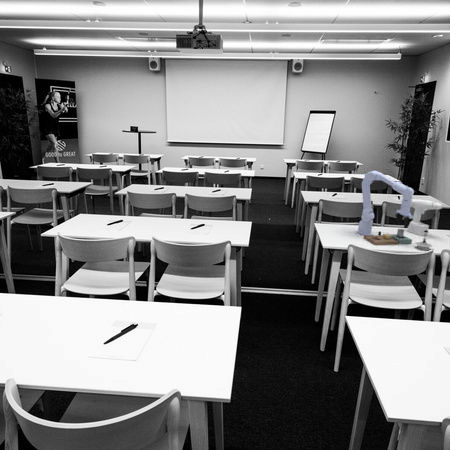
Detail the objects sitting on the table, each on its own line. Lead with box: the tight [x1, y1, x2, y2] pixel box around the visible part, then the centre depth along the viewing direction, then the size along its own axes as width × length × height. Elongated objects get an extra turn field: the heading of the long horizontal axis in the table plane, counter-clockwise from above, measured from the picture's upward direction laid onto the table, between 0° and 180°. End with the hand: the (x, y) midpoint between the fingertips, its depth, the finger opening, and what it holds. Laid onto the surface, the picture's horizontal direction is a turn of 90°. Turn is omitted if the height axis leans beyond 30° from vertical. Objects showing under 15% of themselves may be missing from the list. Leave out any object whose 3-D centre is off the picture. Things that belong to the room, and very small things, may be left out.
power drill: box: [407, 198, 444, 237], centre depth 284 cm, size 8×24×25 cm, turn 27°
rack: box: [389, 233, 413, 245], centre depth 268 cm, size 12×9×3 cm
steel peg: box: [396, 228, 405, 238], centre depth 267 cm, size 4×4×8 cm
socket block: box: [363, 234, 398, 246], centre depth 265 cm, size 14×16×2 cm
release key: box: [382, 233, 392, 239], centre depth 266 cm, size 4×4×4 cm
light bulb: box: [414, 230, 433, 251], centre depth 254 cm, size 12×10×10 cm
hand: (402, 226), depth 266 cm, fingers open, 7 cm apart
